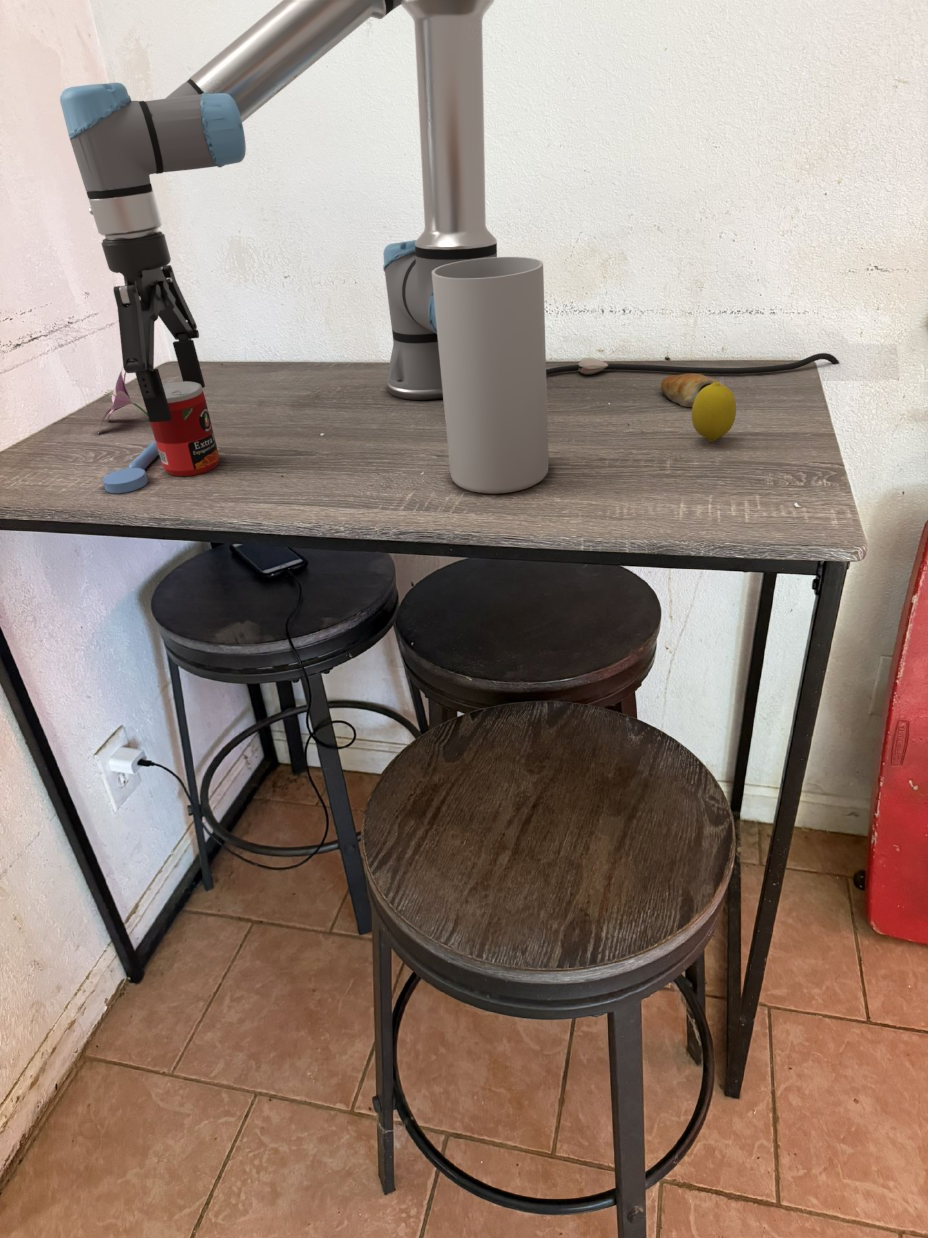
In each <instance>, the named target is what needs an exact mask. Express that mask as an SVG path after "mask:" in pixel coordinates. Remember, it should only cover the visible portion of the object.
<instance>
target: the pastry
mask: <svg viewBox="0 0 928 1238" xmlns="http://www.w3.org/2000/svg"><path fill="white" fill-rule="evenodd" d="M713 382H718V381H717V380H716V379H715V378H714V377H712V378H709V377H707V376H705V375H704V374H697V373H682V374H676V375H668V376H666V377H665V378H663V379H662V380H661V382H660V385H659V388H660V389H661V390H662V392H663V394H664V395H665V397H667V399H668V400H671V401H672V402H673V403H676V404H679V405H680V406H682V407H687V408H693V403H694V400H695V398H696V396H697V394H698V393H699V392H700V391H701V390H702V389H703V388H704V387H706V386H708V385H711V384H712V383H713Z"/></svg>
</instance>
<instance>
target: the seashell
mask: <svg viewBox="0 0 928 1238" xmlns="http://www.w3.org/2000/svg"><path fill="white" fill-rule="evenodd" d="M608 364H609V363H607V362H605V361H602V360H600V359H599V358H596V357H584V358H581V360H580V361H579V362H578V365H579V366H581V367H583V368H582V369H580V368H579V371H578V372H580V373H581V374H582V375H589V376H590V375H594V374H597V373H599V372H601V371H604V370H603V369H604V368H606V367H607V366H608Z"/></svg>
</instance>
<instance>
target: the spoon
mask: <svg viewBox="0 0 928 1238" xmlns="http://www.w3.org/2000/svg"><path fill="white" fill-rule="evenodd" d="M158 456H160V455H159V451H158V448H157V444H156V441H155V439H154V440H153V441H152V442H151V443H150V444H149V445H148V446H146V448H145V449H144V450H142V452H140V454H139V455H137V456H136V458H135V459H134V460H132V461H131V462H130V463H129V465H128V467H127V468H121V469H118V470H114V471H111V472H109V473H107V474H106V475H105V476H103V478H102V483H103V487H104V490H105V491H106V492H107V493H110V494H125V493H131V492H134V491H136V490H139V489H141V488H143V487H145V486H146V485H147V484H148V483H149V480H148V477H147V473H146V470H145V469H146V468H147V467H148V466H149V465H150V464H152V462H153V461H154V460H155V459H156V458H157V457H158Z"/></svg>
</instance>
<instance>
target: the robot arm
mask: <svg viewBox="0 0 928 1238" xmlns="http://www.w3.org/2000/svg"><path fill="white" fill-rule="evenodd" d="M494 3H495V0H282V1H280V2H279V3H278V4H277V5H275V6H274V7H273V8H272V9H271V10H269V11H268V12H266V14H264V15H263V16H262V17H261V18H260V19H259V20H257V21H256V22H255V23H254V24H252V25H251V26H250V27H249V28H248V29H246V31H244V32H243V33H242V34H240V35H239V36H238V37H237V38H235V40H233V41H232V42H231V43H230V44H229V45H227V46H226V47H225V48H224V49H222V50H221V51H220V52H218V54H216V55H215V56H214V57H213V58H212V59H210V61H208V62H207V63H205V65H203V66H202V67H201V68H200V69H198V70H197V71H196V72H195V73H193V75H191V76H190V77H189V78H188V79H187V80H186V81H185V82H183V83H182V84H180V85H179V86H178V87H177V88H176V89H174V90H173V91H172V92H171V93H170V94H169V95H167V96H166V97H165V98H160V99H151V100H132V98H131V96H130V95H129V92H128V89H127V87H126V86H125V85H124V84H123V83H121V82H108V83H107V82H106V83H94V84H84V85H76V86H70V87H66V88H64V90H62V92H61V94H60V97H59V102H60V106H61V110H62V114H63V118H64V122H65V126H66V131H67V134H68V138H69V140H70V145H71V148H72V152H73V154H74V157H75V160H76V164H77V168H78V170H79V173H80V176H81V180H82V183H83V186H84V189H85V192H86V195H87V198H88V202H89V206H90V207H89V209H88V211H89V214H90V215H92V216H93V219H94V222H95V226H96V229H97V232H98V234H100V235H101V236H104V239H102V242H101V246H102V251H103V254H104V256H105V261H106V264H107V268H108V270H109V271H111V272H113V273H115V274H121V275H122V276H123V283H124V285H118V286H117V285H116V286H113V290H112V291H113V296H114V300H115V303H116V307H117V315H118V327H119V328H118V329H119V336H120V347H121V349H120V350H121V358H122V367H123V370H124V372H125V371H126V374H135V377H136V381H137V384H138V387H139V390H140V393H141V397H142V400H143V403H144V407H145V411H146V412H147V414H148V416H147V417H148V420H149V423H150V422H162V421H171V420H172V416H171V413H170V409H169V406H168V402H167V399H166V395H165V392H164V388H163V385H162V384H163V381H162V378H161V375H160V371H159V368H155V322H156V321H158V319H160V320H161V321H162V323H163V324H164V325H165V327H166V328H167V330H168V331H169V333H170V334H171V336H172V337H173V338H174V340H175V341H173V342H172V346H173V350H174V353H175V357H176V361H177V364H178V365H177V366H178V367H179V368H178V369H179V372H180V375H181V379H182V382H195V383H199V384H201V386H202V389H204V388H205V387H206V383H205V379H204V376H203V372H202V369H201V363H200V361H199V356H198V353H197V349H196V345H195V341H194V339H199V338H200V332H199V330H198V325H197V323H196V321H195V319H194V316H193V313H192V312H191V310H190V308H189V306H188V303H187V301H186V299H185V297H184V294H183V293H182V291H181V288H180V286H179V284H178V282H177V279H176V277H175V272H174V270H173V267H172V265H171V264H170V263H171V261H172V258H171V254H170V250H169V247H168V243H167V239H166V235H165V233H163V232H162V231H161V230H159V229H160V228H161V226H162V225H163V221H162V218H161V214H160V212H159V211H160V210H159V207H158V204H157V199H156V196H155V193H154V190H153V189H154V188H153V186H152V183H151V178H150V175H159V174H163V173H171V172H172V173H173V172H182V171H192V170H200V169H206V168H215V167H217V168H222V167H225V166H228V165H233V164H239V163H241V162H243V160H244V159H245V156H246V149H247V146H246V145H247V143H246V136H245V132H244V131H245V130H244V124H243V123H244V122H245V121H246V120H247V119H249V118H250V117H251V116H252V115H253V114H255V113H256V112H257V111H259V110H260V109H261V108H262V107H263V106H264V105H266V104H267V103H268V102H269V101H271V100H272V99H273V98H274V97H275V96H277V95H278V94H279V93H280V92H281V91H283V90H284V89H285V88H286V87H287V86H289V85H290V84H292V82H293V81H295V80H296V79H297V78H298V77H300V76H301V75H302V74H303V73H304V72H306V71H307V70H308V69H309V68H311V66H313V65H314V64H315V63H317V62H318V61H319V60H320V59H322V58H323V57H324V56H325V55H327V53H329V52H330V51H331V50H332V49H334V48H336V46H337V45H339V44H340V43H341V42H343V40H344V39H346V38H347V37H348V36H349V35H351V34H352V33H353V32H355V30H357V29H358V28H360V26H361V25H363V24H364V23H365V22H366V21H368V20H369V19H370V18H374V19H377V20H382V19H384V18H385V17H386V16H387V15H388V14H389V13H391V12H392V11H394V10H395V9H396V8H398V7H400V6H401V7H402V8H403V9H404V10H405V12H406V13H407V14H408V15H409V16H410V17H411V19H412V21H413V24H414V43H415V45H414V46H415V61H416V62H415V63H416V64H415V65H416V81H417V82H416V83H417V84H416V85H417V100H418V102H417V104H418V119H419V122H418V123H419V140H420V142H419V143H420V158H421V179H422V181H421V183H422V197H423V198H422V199H423V219H424V229H423V231H422V233H421V234H420V235H419V236H418V237H417V239H413V240H407V241H406V240H405V241H400V242H394V243H389V244H387V245H386V246H385V247H384V249H383V253H382V254H383V267H382V269H383V272H384V278H385V285H386V286H385V287H386V292H387V293H386V294H387V301H388V302H387V303H388V309H389V318H390V326H391V332H392V333H391V334H392V350H391V355H390V361H389V365H388V368H387V369H388V371H387V376H386V377H387V379H386V383H387V391H388V393H389V394H391V395H392V396H394V397H395V398H399V399H405V400H412V401H413V400H415V401H425V400H426V401H427V400H438V399H439V400H440V399H443V389H442V379H441V368H440V357H439V346H438V336H437V325H436V314H435V303H434V293H433V282H432V271H433V270H434V269H435V268H437V267H440V266H443V265H446V264H450V263H454V262H459V261H465V260H472V259H480V258H492V257H498V242H497V241H498V240H497V238H496V237H495V236H494V235H493V234H492V233H491V232H490V230H489V229H488V228H487V225H486V224H487V223H486V220H487V219H486V216H487V215H486V214H487V213H486V167H485V165H486V162H485V160H486V159H485V155H486V154H485V113H484V112H485V107H484V105H485V103H484V98H485V97H484V95H485V94H484V47H483V46H484V45H483V43H484V42H483V40H484V39H483V38H484V37H483V20H484V16H485V15H486V14H487V12H488V10H489V9H490V8H491V6H492V5H493V4H494ZM820 360H825V361H828V362H830V363H831V364H832V365H839V364H840V361H839V359H838V358H837V357H835V356H834V355H833V354H830V353H827V352H820V353H816V354H812V355H810V356H807V357H806V358H803V359H801V360H797V361H795V362H790V363H786V364H785V363H784V364H776V365H766V366H765V365H764V366H749V367H746V366H745V367H701V366H676V365H661V364H660V365H659V364H636V363H635V364H634V363H633V364H631V363H607V364H608V366H607V367H606V368H604V369H603V370H602V371H635V372H636V371H638V372H661V373H677V374H688V373H689V374H694V373H695V374H701V375H742V374H743V375H750V374H751V375H752V374H765V373H766V374H767V373H776V372H777V373H778V372H786V371H792V370H796V369H799V368H802V367H805V366H807V365H809V364H811V363H814V362H816V361H820ZM579 368H580V369H582V368H583V367H581V366H579V364H573V365H571V364H570V365H562V366H561V365H560V366H556V367H555V366H554V367H552V368H546V376H550V375H554V374H560V373H568V372H580V371H579Z"/></svg>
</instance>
